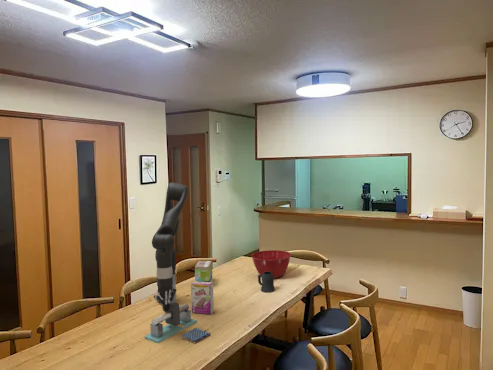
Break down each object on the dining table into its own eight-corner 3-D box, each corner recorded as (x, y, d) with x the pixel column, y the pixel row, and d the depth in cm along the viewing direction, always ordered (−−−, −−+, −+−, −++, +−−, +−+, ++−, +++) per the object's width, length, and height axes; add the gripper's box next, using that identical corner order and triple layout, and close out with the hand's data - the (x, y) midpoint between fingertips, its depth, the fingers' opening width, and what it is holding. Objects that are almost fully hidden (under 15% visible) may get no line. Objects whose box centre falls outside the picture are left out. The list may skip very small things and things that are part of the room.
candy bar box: (191, 313, 196) (190, 283, 196) (195, 309, 201) (194, 280, 200) (211, 315, 193) (209, 284, 193) (214, 311, 198) (213, 282, 197)
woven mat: (195, 330, 177) (195, 326, 177) (211, 336, 170) (211, 332, 170) (179, 339, 169) (179, 334, 168) (195, 345, 162) (195, 341, 162)
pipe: (158, 338, 167) (157, 320, 166) (150, 335, 169) (150, 317, 169) (191, 320, 185) (190, 304, 184) (184, 318, 187) (183, 302, 187)
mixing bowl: (247, 280, 250) (246, 258, 249) (257, 269, 277) (257, 249, 276) (287, 283, 242) (287, 260, 241) (294, 271, 269) (294, 250, 268)
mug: (278, 289, 230) (277, 272, 229) (269, 293, 223) (268, 275, 223) (263, 285, 238) (263, 269, 237) (254, 289, 231) (253, 272, 231)
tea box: (210, 288, 236) (209, 266, 235) (194, 289, 236) (194, 266, 235) (212, 281, 251) (212, 260, 250) (198, 281, 251) (197, 260, 250)
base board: (157, 343, 164) (157, 340, 164) (144, 338, 169) (144, 336, 169) (196, 322, 185) (196, 319, 185) (184, 318, 190) (184, 316, 190)
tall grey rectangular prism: (175, 326, 174) (174, 305, 174) (165, 322, 178) (164, 303, 178) (180, 323, 177) (179, 303, 176) (170, 320, 181) (169, 301, 180)
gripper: (169, 271, 181) (170, 305, 182) (148, 278, 170) (150, 314, 171) (180, 273, 177) (181, 308, 178) (159, 280, 166) (160, 317, 167)
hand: (166, 311), depth 174 cm, fingers closed
